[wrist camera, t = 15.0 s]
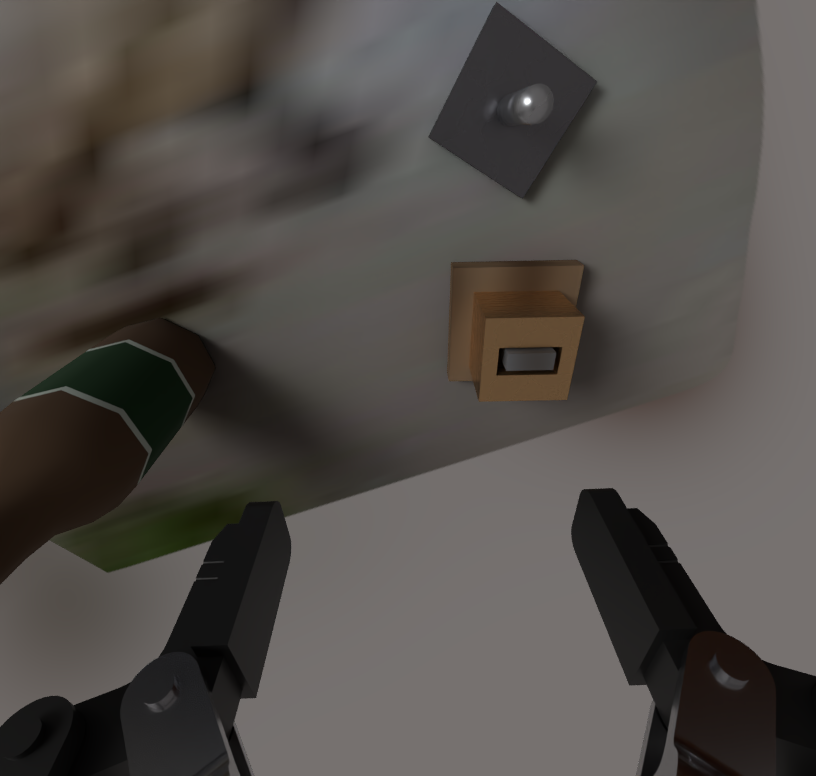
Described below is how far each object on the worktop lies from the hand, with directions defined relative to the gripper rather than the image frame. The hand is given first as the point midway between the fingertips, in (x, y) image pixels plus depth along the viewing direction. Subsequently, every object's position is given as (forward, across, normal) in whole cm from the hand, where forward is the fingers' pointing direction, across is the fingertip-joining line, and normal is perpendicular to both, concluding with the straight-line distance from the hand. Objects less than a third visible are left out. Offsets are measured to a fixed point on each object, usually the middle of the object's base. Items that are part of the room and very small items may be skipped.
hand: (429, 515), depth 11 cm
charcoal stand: (+23, -6, -9) cm, 25 cm away
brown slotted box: (+21, -7, +4) cm, 22 cm away
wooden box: (+22, -7, +4) cm, 24 cm away
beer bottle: (+23, +20, +7) cm, 31 cm away
